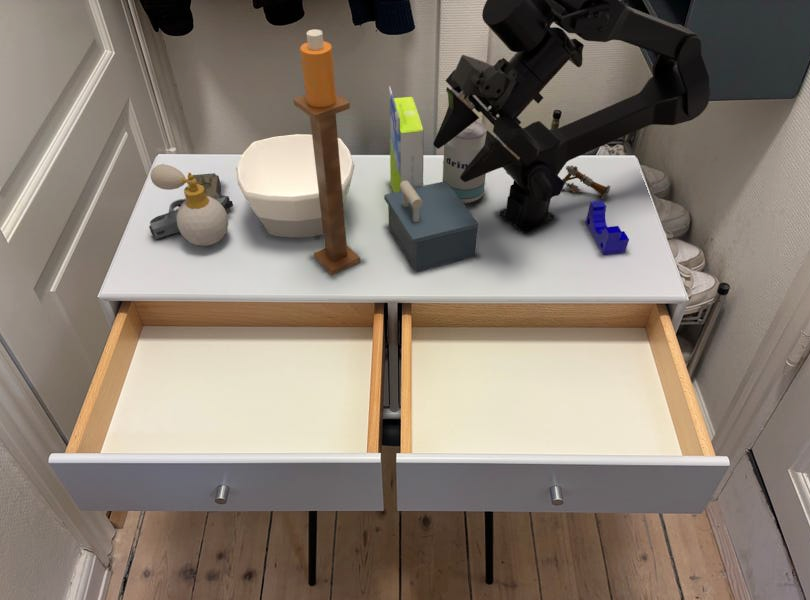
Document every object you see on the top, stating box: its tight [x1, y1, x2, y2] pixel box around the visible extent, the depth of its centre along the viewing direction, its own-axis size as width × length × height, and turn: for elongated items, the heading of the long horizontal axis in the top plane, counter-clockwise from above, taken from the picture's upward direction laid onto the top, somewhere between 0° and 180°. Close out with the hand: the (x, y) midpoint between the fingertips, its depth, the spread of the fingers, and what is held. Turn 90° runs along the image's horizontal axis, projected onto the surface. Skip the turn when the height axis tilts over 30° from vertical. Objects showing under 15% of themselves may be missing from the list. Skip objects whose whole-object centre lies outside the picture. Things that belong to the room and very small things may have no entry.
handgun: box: [148, 172, 234, 240], centre depth 107 cm, size 2×14×12 cm
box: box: [388, 85, 425, 193], centre depth 103 cm, size 10×4×17 cm, turn 9°
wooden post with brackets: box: [561, 164, 611, 201], centre depth 109 cm, size 2×8×4 cm, turn 72°
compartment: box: [387, 204, 479, 273], centre depth 100 cm, size 10×12×5 cm
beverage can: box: [441, 120, 487, 205], centre depth 106 cm, size 7×7×12 cm
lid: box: [383, 180, 479, 244], centre depth 96 cm, size 10×12×5 cm
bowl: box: [236, 133, 355, 238], centre depth 103 cm, size 18×18×9 cm
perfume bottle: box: [150, 163, 229, 247], centre depth 98 cm, size 8×10×12 cm
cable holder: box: [584, 200, 630, 256], centre depth 101 cm, size 8×4×4 cm, turn 8°
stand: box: [293, 93, 361, 276], centre depth 90 cm, size 5×5×25 cm
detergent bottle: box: [299, 28, 337, 108], centre depth 78 cm, size 4×4×8 cm
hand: (448, 162), depth 93 cm, fingers open, 9 cm apart
